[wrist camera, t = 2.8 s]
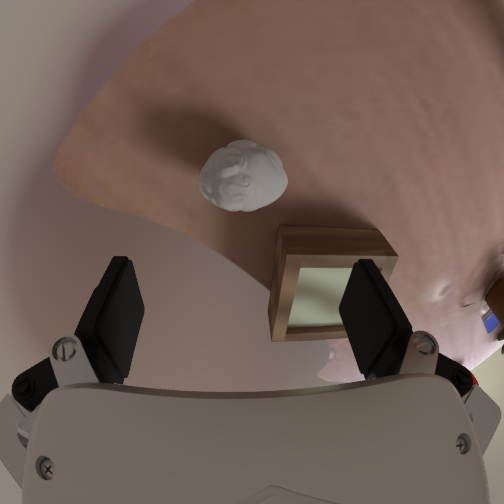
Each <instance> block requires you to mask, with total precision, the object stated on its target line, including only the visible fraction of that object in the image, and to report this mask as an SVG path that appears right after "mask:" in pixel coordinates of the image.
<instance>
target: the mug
mask: <svg viewBox="0 0 504 504" xmlns="http://www.w3.org/2000/svg"><path fill="white" fill-rule="evenodd" d="M486 302H487V304H488V306H489V308H490V309H491V311H492V312H493V314H494V315H495V317H496V318H497V320H498V321H499V323H500V324H501V326H502V327H503V329H504V278H502V279H500V280H499V281H498V282H497V283H496V284H495V285H494V286H493V287H492V288H491V290H490V291H489V293H488V295H487V299H486Z"/></svg>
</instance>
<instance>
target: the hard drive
mask: <svg viewBox="0 0 504 504" xmlns="http://www.w3.org/2000/svg"><path fill="white" fill-rule="evenodd" d="M482 320H483V322H484V325H485V328H486V330H487V333H488V334H489V333H490V332H491V331H492V330H493V329H495V328H496V327H497V326H498V325H499V324H500V323H499V321H498V320H497V318H496V317H495V315H494V314H493V312H492V311H491V310H490V311H489V312H488V313H487V314H486V315H485V316H484V317H482Z"/></svg>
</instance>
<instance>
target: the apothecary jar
mask: <svg viewBox="0 0 504 504" xmlns="http://www.w3.org/2000/svg"><path fill="white" fill-rule="evenodd" d="M497 339H498V341H500V340H503V339H504V330H503V331H502V332H501V333H500V335H499V336H498V338H497ZM502 355H503V356H504V344H503V347H502Z"/></svg>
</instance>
